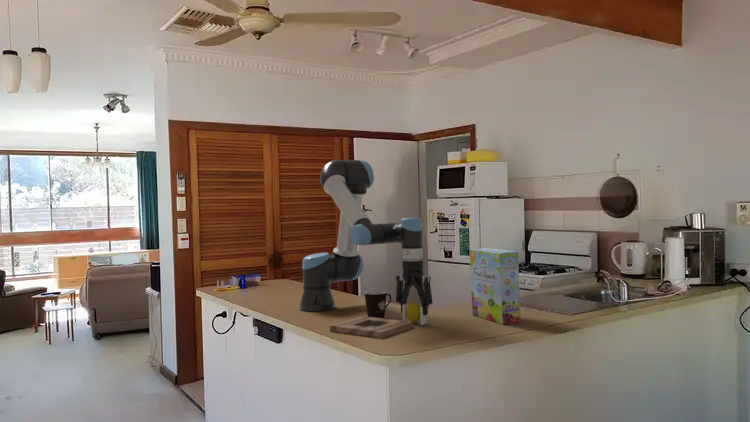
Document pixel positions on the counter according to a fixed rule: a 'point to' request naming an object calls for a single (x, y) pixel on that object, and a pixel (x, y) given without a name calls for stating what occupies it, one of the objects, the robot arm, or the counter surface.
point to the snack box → (495, 285)
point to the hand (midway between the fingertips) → (414, 322)
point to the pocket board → (371, 326)
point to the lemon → (413, 312)
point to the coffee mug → (376, 303)
